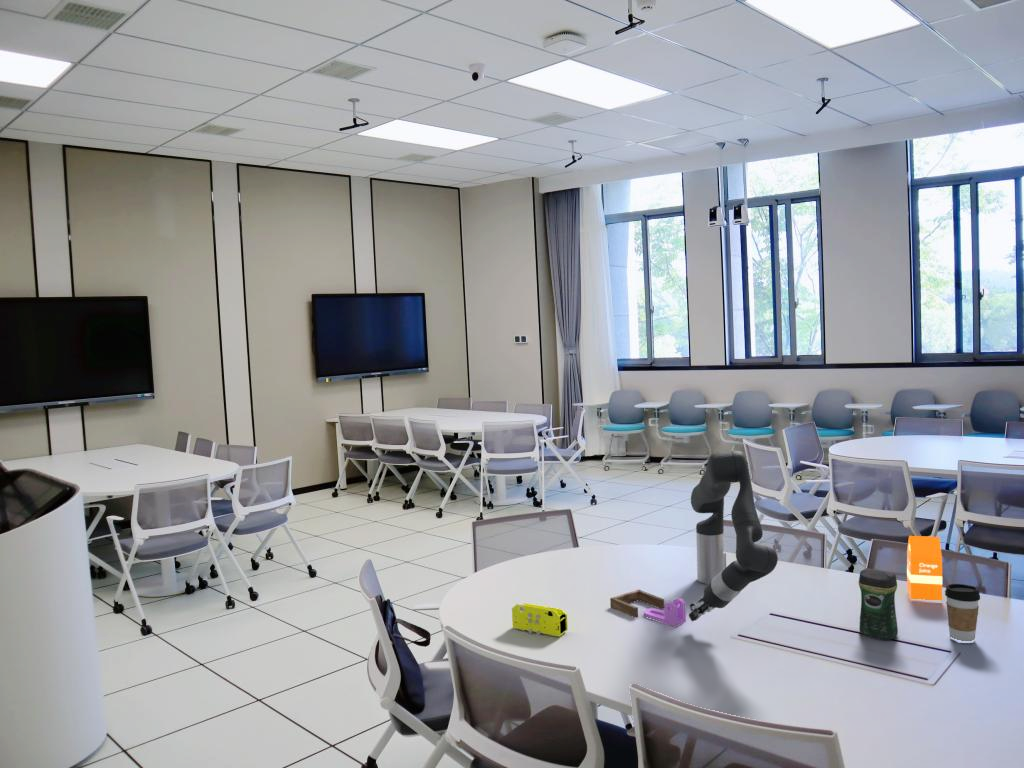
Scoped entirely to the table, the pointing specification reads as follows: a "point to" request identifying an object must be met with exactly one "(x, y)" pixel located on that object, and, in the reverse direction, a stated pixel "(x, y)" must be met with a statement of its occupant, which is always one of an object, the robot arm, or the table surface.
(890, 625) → the coffee jar
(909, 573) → the orange juice
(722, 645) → the table surface
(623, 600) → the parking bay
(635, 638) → the table surface
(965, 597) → the coffee cup
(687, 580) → the table surface
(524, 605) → the yellow toy chassis
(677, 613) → the bracket
